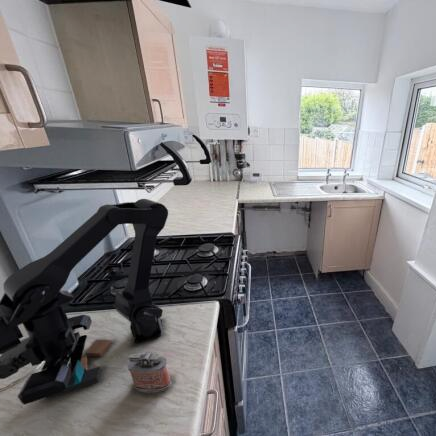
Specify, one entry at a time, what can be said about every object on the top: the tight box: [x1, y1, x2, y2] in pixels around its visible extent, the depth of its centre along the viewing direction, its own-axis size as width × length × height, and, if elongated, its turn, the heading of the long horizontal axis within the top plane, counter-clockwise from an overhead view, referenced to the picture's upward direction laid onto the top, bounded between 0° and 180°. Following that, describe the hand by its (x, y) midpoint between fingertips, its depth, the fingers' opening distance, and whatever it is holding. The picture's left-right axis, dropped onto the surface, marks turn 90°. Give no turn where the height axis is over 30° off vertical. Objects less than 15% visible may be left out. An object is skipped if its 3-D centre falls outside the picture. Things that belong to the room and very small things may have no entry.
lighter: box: [126, 351, 172, 393], centre depth 52 cm, size 8×3×10 cm, turn 92°
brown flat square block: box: [83, 339, 113, 357], centre depth 62 cm, size 4×4×1 cm
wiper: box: [46, 360, 102, 400], centre depth 53 cm, size 9×3×6 cm, turn 116°
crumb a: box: [81, 356, 89, 371], centre depth 56 cm, size 4×4×1 cm
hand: (73, 378), depth 53 cm, fingers closed on wiper, 3 cm apart
